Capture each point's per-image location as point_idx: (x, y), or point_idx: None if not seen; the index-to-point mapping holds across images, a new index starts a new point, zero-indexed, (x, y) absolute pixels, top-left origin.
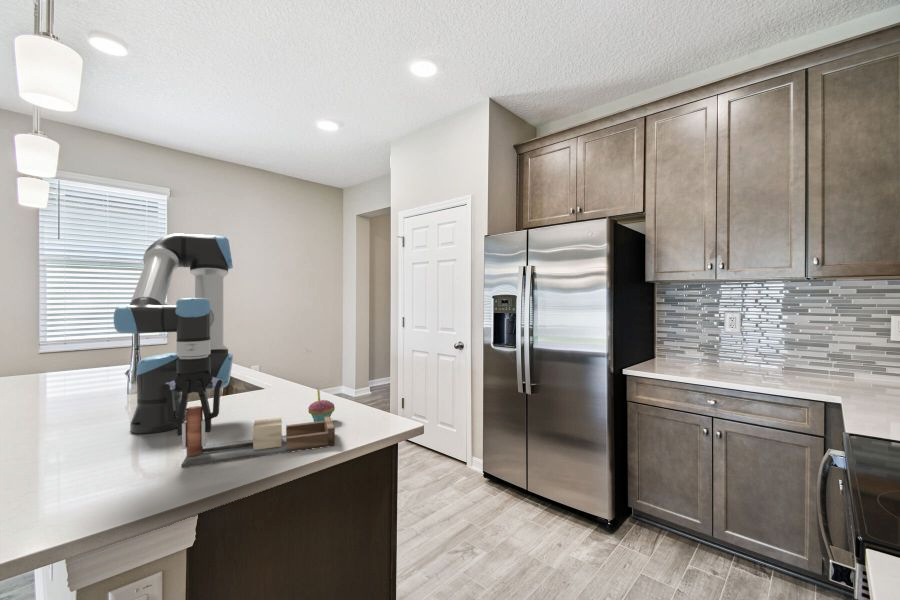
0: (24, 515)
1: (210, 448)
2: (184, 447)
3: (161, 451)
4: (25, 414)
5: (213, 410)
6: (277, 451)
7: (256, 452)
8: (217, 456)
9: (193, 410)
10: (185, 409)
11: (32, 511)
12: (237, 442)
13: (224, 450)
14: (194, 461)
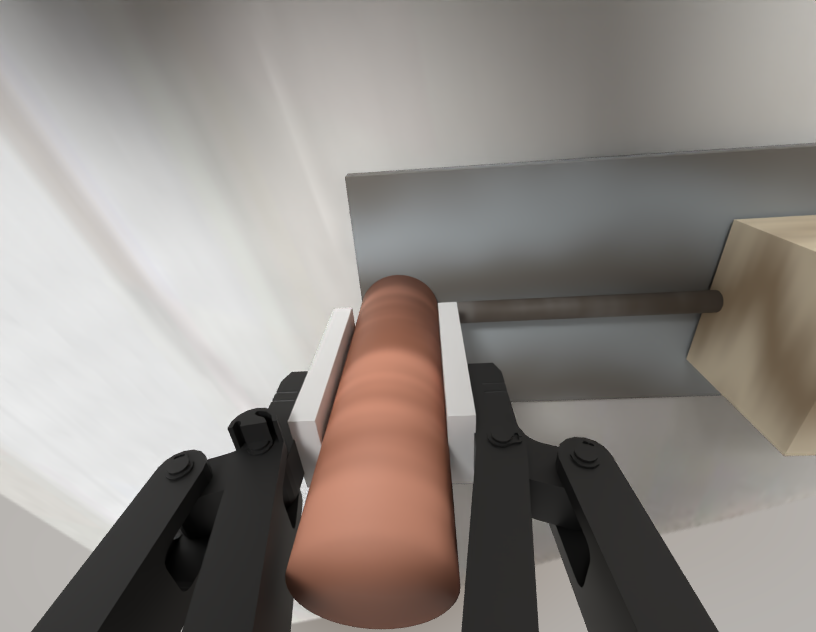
0: (102, 538)
1: (478, 320)
2: None
3: (158, 128)
4: None
5: (573, 572)
6: None
7: (693, 379)
8: (515, 370)
9: (387, 620)
10: (280, 577)
11: (102, 528)
12: (625, 185)
13: None
14: None
